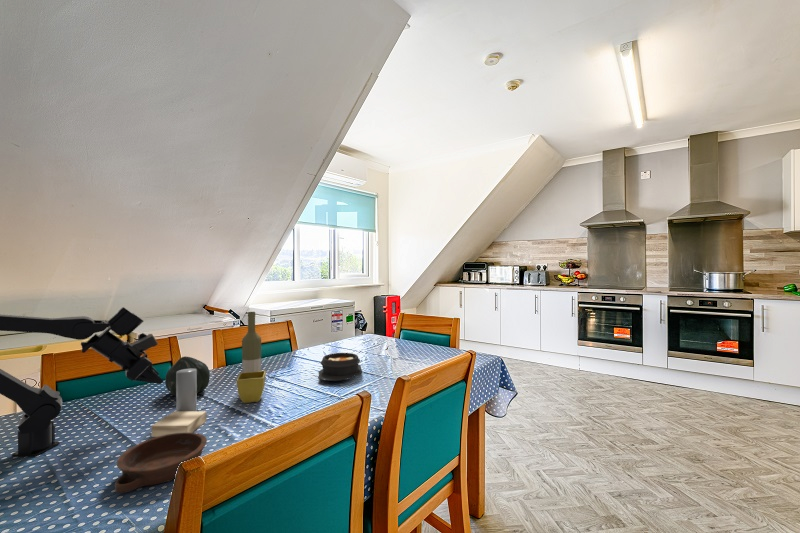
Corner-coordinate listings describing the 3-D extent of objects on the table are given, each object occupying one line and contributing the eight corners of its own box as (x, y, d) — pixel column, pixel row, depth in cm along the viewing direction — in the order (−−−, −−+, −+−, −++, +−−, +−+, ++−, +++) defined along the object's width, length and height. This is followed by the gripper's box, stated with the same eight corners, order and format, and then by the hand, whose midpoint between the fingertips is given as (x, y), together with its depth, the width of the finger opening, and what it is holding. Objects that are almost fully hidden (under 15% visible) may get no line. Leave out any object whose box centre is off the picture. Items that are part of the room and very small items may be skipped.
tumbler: (190, 418, 113) (190, 373, 113) (172, 418, 113) (172, 373, 113) (200, 411, 118) (200, 368, 118) (183, 411, 118) (183, 368, 118)
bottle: (258, 386, 143) (258, 310, 143) (264, 391, 137) (263, 312, 137) (239, 389, 138) (239, 311, 138) (244, 395, 133) (244, 313, 133)
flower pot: (236, 406, 122) (236, 379, 122) (240, 397, 131) (240, 372, 131) (263, 403, 125) (263, 377, 125) (266, 394, 133) (265, 370, 133)
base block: (187, 436, 101) (187, 425, 101) (151, 436, 101) (151, 425, 101) (206, 421, 111) (206, 411, 111) (173, 421, 111) (173, 411, 111)
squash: (210, 368, 148) (182, 345, 141) (223, 378, 137) (194, 353, 130) (180, 398, 141) (150, 375, 133) (192, 410, 130) (159, 386, 123)
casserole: (350, 387, 142) (350, 365, 142) (307, 383, 146) (306, 362, 146) (370, 369, 166) (370, 351, 166) (332, 366, 170) (332, 349, 170)
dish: (228, 448, 94) (227, 429, 94) (158, 504, 72) (158, 479, 72) (169, 444, 97) (168, 425, 97) (85, 495, 75) (85, 471, 75)
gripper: (141, 330, 100) (186, 363, 108) (135, 322, 115) (176, 351, 122) (104, 364, 95) (155, 395, 103) (103, 351, 110) (148, 380, 117)
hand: (159, 378), depth 111 cm, fingers open, 9 cm apart
